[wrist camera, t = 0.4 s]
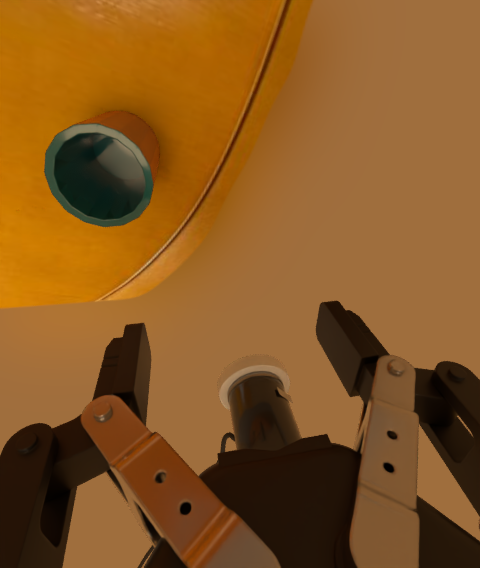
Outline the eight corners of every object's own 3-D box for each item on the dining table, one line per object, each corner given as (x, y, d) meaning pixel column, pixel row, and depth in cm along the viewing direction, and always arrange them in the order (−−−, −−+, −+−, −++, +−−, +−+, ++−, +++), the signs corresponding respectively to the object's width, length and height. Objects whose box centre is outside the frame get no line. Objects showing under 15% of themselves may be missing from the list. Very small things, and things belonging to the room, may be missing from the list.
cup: (164, 180, 30) (160, 222, 21) (99, 185, 29) (65, 231, 20) (153, 109, 26) (141, 120, 17) (79, 112, 26) (26, 126, 17)
